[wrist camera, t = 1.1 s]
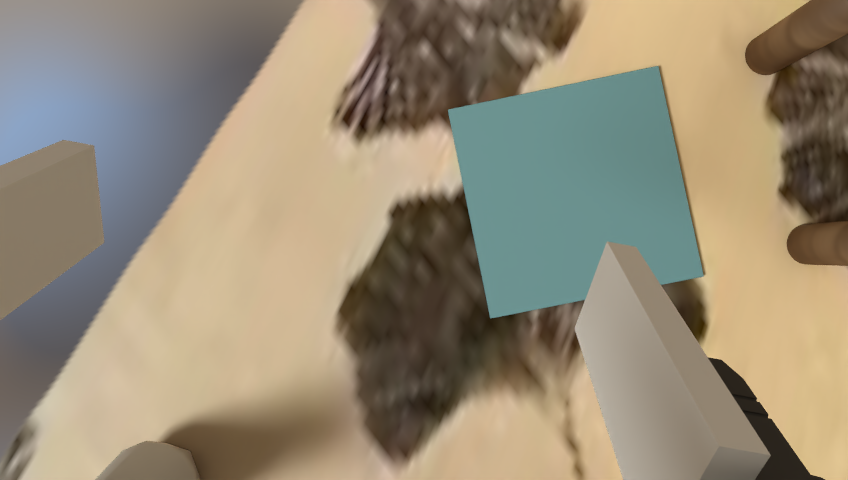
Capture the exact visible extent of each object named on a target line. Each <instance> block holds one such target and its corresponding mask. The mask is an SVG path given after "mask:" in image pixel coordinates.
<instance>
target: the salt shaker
mask: <svg viewBox="0 0 848 480" xmlns="http://www.w3.org/2000/svg"><path fill="white" fill-rule="evenodd" d="M199 479H200V476H199V473H198V470H197V468H196V465H195V462H194V460H193V457H192V455H191V452H190V451H189V450H186V449H183V448H180V447H177V446H174V445H171V444H168V443H163V442H153V441H145V442H142V443H139V444H137V445H135V446H132V447H130V448H128V449H125V450H123V451H122V452H121V453H120V454H119V455H118V456H117V457H116V458H115V459H114V460H113V461H112V462H111V463H110V464H109V465H108V467H107V468H106V469H105V470H104V471H103V472H102V473H101V474H100V475H99V476H98V477H97V478H96V479H95V480H199Z"/></svg>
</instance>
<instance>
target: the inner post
mask: <svg viewBox="0 0 848 480" xmlns="http://www.w3.org/2000/svg"><path fill="white" fill-rule="evenodd" d="M787 248H788V252H789V254H790V255H791V257H792V258H793V259H794V260H796V261H797V262H799V263H802V264H811V265H840V266H848V221H842V222H829V223H816V224H804V225H800V226H798V227H796V228H795V229H793V230H792V232H791V233H790V234H789V237H788V240H787Z"/></svg>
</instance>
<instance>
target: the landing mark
mask: <svg viewBox="0 0 848 480" xmlns="http://www.w3.org/2000/svg"><path fill="white" fill-rule="evenodd" d="M448 113H449V118H450V123H451V128H452V132H453V137H454V142H455V147H456V152H457V157H458V162H459V167H460V172H461V177H462V181H463V186H464V191H465V196H466V201H467V206H468V211H469V216H470V221H471V226H472V230H473V235H474V240H475V245H476V250H477V255H478V260H479V265H480V270H481V275H482V280H483V284H484V289H485V294H486V299H487V304H488V309H489V314H490V318H495V317H500V316H505V315H510V314H515V313H520V312H525V311H530V310H535V309H540V308H546V307H551V306H556V305H561V304H566V303H571V302H576V301H581V300H585V299H586V296H587V294H588V291H589V288H590V286H591V283H592V280H593V278H594V275H595V272H596V269H597V267H598V264H599V261H600V259H601V256H602V253H603V251H604V248H605V245H606V242H612V243H618V244H623V245H629V246H634V247H637V249H638V251H639V252H640V254H641V255H642V257H643V258H644V260H645V261H646V263H647V264H648V266H649V268H650V269H651V271H652V272H653V274H654V275H655V277H656V278H657V280H658V282H659V283H660V285H662V284H667V283H672V282H677V281H682V280H687V279H692V278H698V277H703V276H704V275H703V271H702V266H701V261H700V257H699V252H698V248H697V243H696V238H695V234H694V229H693V224H692V220H691V215H690V211H689V206H688V201H687V197H686V192H685V187H684V183H683V178H682V173H681V169H680V164H679V160H678V155H677V150H676V146H675V141H674V136H673V132H672V127H671V122H670V118H669V113H668V109H667V104H666V99H665V95H664V90H663V85H662V81H661V76H660V72H659V67H658V66H655V67H651V68H646V69H641V70H636V71H631V72H627V73H622V74H617V75H612V76H607V77H603V78H598V79H593V80H588V81H584V82H579V83H574V84H569V85H564V86H560V87H555V88H550V89H545V90H540V91H536V92H531V93H526V94H521V95H516V96H512V97H507V98H502V99H497V100H492V101H488V102H483V103H478V104H473V105H468V106H464V107H459V108H454V109H449V110H448Z"/></svg>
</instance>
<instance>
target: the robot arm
mask: <svg viewBox="0 0 848 480" xmlns="http://www.w3.org/2000/svg"><path fill="white" fill-rule="evenodd" d="M103 243H104V235H103V225H102V216H101V207H100V197H99V188H98V178H97V170H96V160H95V150H94V146H93V145H88V144H83V143H77V142H72V141H66V140H62V141H60V142H57V143H55V144H52V145H50V146H47V147H45V148H42V149H40V150H38V151H35V152H33V153H30V154H28V155H25V156H23V157H21V158H18V159H16V160H13V161H11V162H9V163H6V164H4V165H1V166H0V320H1V319H2V318H4V317H5V316H6V315H8V314H9V313H10V312H12V311H13V310H14V309H16V308H17V307H18V306H20V305H21V304H22V303H24V302H25V301H26V300H28V299H29V298H30V297H32V296H33V295H34V294H36V293H37V292H38V291H40V290H41V289H42V288H44V287H45V286H46V285H48V284H49V283H51V281H53V280H54V279H56V278H57V277H59V276H60V275H61V274H63V273H64V272H65V271H67V270H68V269H69V268H71V267H72V266H73V265H75V264H76V263H77V262H79V261H80V260H81V259H83V258H84V257H85V256H87V255H88V254H89V253H91V252H92V251H93V250H95V249H96V248H97V247H99V246H100V245H102V244H103ZM575 331H576V334H577V337H578V340H579V344H580V347H581V350H582V353H583V356H584V359H585V362H586V365H587V368H588V372H589V375H590V378H591V381H592V384H593V387H594V390H595V393H596V396H597V399H598V403H599V406H600V409H601V412H602V415H603V418H604V421H605V424H606V427H607V430H608V434H609V437H610V440H611V443H612V446H613V449H614V452H615V455H616V458H617V461H618V465H619V468H620V471H621V474H622V477H623V480H825V479H823V478H821V477H817V476H813V475H810V473H809V472H808V471H807V469H806V468H805V466H804V465H803V463H802V462H801V461H800V459H799V458H798V456H797V455H796V453H795V452H794V451H793V449H792V448H791V446H790V445H789V443H788V442H787V441H786V439H785V438H784V436H783V435H782V433H781V432H780V431H779V429H778V428H777V426H776V425H775V423H774V422H773V421H772V419H769V418H768V414H767V412H766V411H765V409H764V408H763V406H762V405H761V404H760V402H757V401H756V399H757V398H756V396H755V395H754V394H753V392H752V391H751V389H750V388H749V386H748V385H747V384H746V382H745V381H744V379H743V378H742V377H741V376H739V375H738V374H737V373H736V372H735V371H734V370H732V369H731V368H730V367H729V366H728V365H727V364H726V363H724V362H723V361H722V360H719V359H713V358H708V357H707V356H706V354H705V353H704V351H703V350H702V348H701V346H700V345H699V343H698V342H697V340H696V339H695V337H694V336H693V334H692V333H691V331H690V329H689V328H688V326H687V325H686V323H685V322H684V320H683V319H682V317H681V316H680V314H679V312H678V311H677V309H676V308H675V306H674V305H673V303H672V302H671V300H670V299H669V297H668V295H667V294H666V292H665V291H664V289H663V288H662V286H661V285H660V283H659V282H658V280H657V278H656V277H655V275H654V274H653V272H652V271H651V269H650V268H649V266H648V264H647V263H646V261H645V260H644V258H643V257H642V255H641V254H640V252H639V251H638V249H637V247H634V246H629V245H623V244H618V243H612V242H606V245H605V248H604V251H603V253H602V256H601V259H600V261H599V264H598V267H597V269H596V272H595V275H594V278H593V280H592V283H591V286H590V288H589V291H588V294H587V296H586V299H585V302H584V305H583V307H582V310H581V313H580V315H579V318H578V321H577V323H576V326H575Z"/></svg>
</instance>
